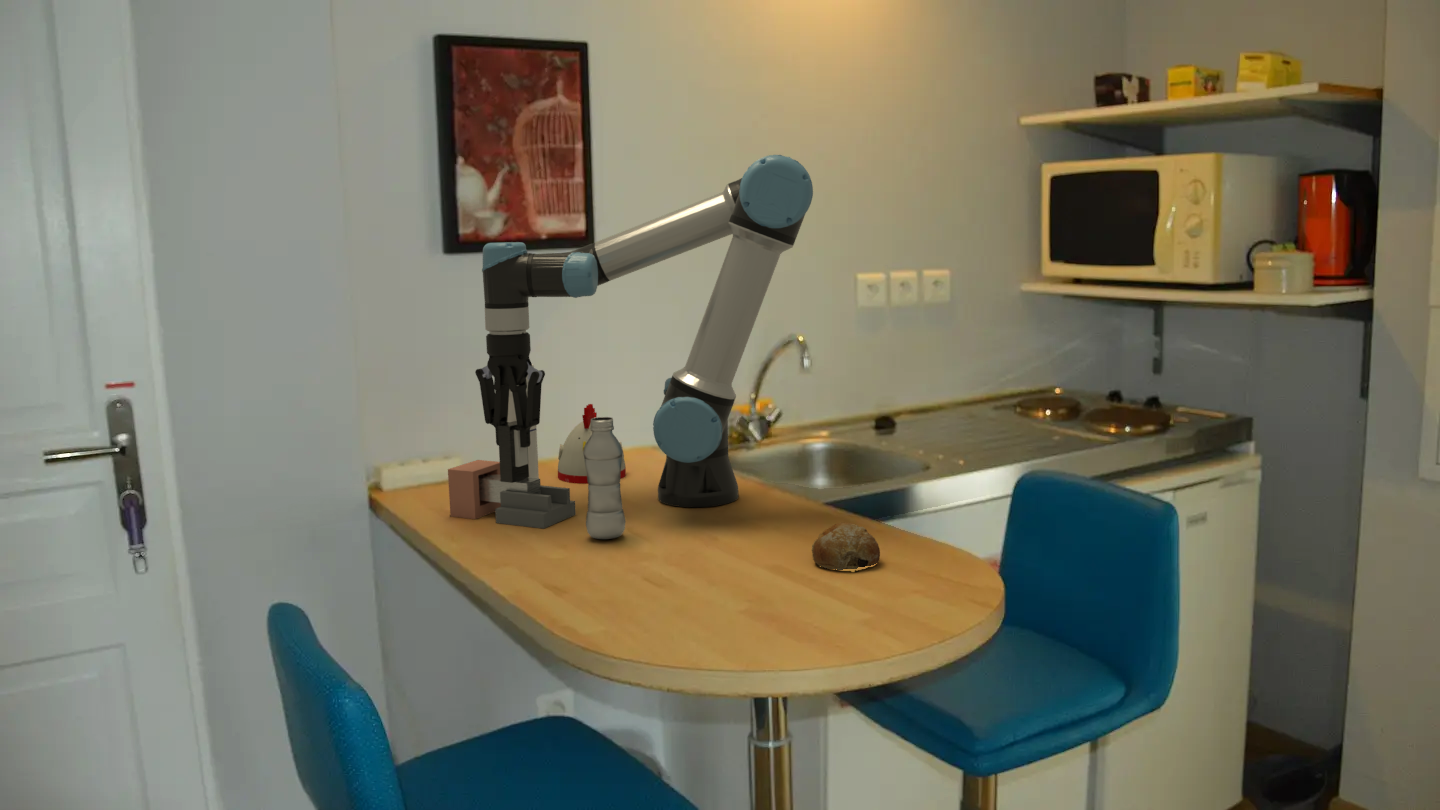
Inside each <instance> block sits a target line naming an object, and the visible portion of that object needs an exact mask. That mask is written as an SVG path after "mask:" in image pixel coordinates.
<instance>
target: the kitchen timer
mask: <svg viewBox="0 0 1440 810" xmlns="http://www.w3.org/2000/svg"><path fill="white" fill-rule="evenodd" d="M581 417H582V421H581V422H579V423H578V424H577V425H576V426H574V427H573V429H571V431H570V433H569V434H568V435H567V437H566V439H565V441H564V443H563V444H559V450H558V451H559V452H558V464H557V479H558V480H559V481H561V482H565V483H569V484H577V485H580V484H581V485H588V481H587V472H586V467H585V461H584V455H583V450H584V446H585V444H586V443H587V441H588V439H589V438H590V436H591V435H592V431H591V430H590V427H591V419H592V418H596V417H598V415H597V411H596V408H595V407H594V404H593V403H588V404H587V405H586V406H585V407H583V414H582V416H581ZM619 443H620V444H621V447H622V463H621V476H620V480H622V479H624V477H626V475H627V474H626V473H627V471H626V469H627V468H626V462H625V453H624V450H623V446H622V445H623V444H622V442H621V441H619Z"/></svg>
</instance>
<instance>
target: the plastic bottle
mask: <svg viewBox="0 0 1440 810" xmlns="http://www.w3.org/2000/svg"><path fill="white" fill-rule="evenodd" d="M614 429H615V426H614V418H613V417H610V416H597V417H596V418H592V419H591V427H590V430H591V431H592V435H591V436H590V438H589V439H588V441H587V443H586V444H585V446H584V450H583V455H584V461H585V467H586V472H587V481H588V484H587V491H588V495H587V496H588V497H587V512H586V515H585V516H586V518H585V526H586V531H587V534H588V535H589V536H590V538H592V539H594V540H595V539H596V540H609V539H616V538H619V537H621V536H623V533H624V532H625V529H626V522H627V521H626V515H625V511H624V509H623V500H622V494H621V493H622V492H621V479H620V476H621V463H622V449H623V446H622V447H621V444H620V443H619V442H620V441H619V440H618V438H617V437H616V436H615V435H614V433H613V431H614Z"/></svg>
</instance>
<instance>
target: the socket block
mask: <svg viewBox="0 0 1440 810" xmlns="http://www.w3.org/2000/svg"><path fill="white" fill-rule="evenodd" d="M484 473H487V474H497V475H500V461H496V460H495V461H494V460H485V459H484V460H482V459H476V460H473V461H470V462H467V463H464V464H460V465H456V466H454V467H451V468H448V469H447V476H448V477H447V479H448V497H449V513H450V514H449V516H450V517H455V518H463V519H472V520H477V519H479V518H482V517H484V516H487V515H490V514H492V513H495V509H497V508H499V507H501V503H498V502H489V501H480V497H479V478H478V475H481V474H484Z"/></svg>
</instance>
